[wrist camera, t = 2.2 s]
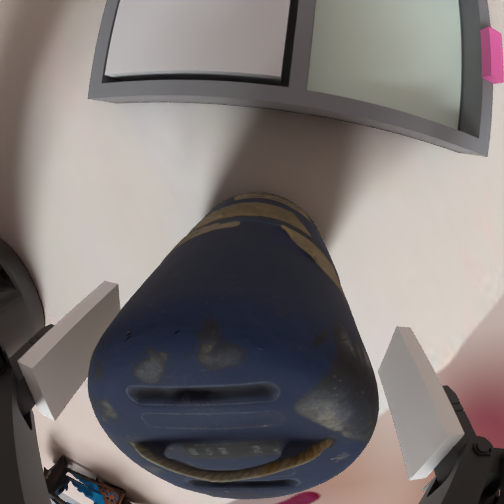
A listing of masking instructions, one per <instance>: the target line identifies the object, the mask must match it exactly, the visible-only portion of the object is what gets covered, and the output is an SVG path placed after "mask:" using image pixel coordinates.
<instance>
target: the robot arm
mask: <svg viewBox="0 0 504 504" xmlns="http://www.w3.org/2000/svg"><path fill="white" fill-rule="evenodd" d="M119 312H120V301H119V289H118V284H116V283H111V282H107V281H104V282H103V283H102V284H101V285H100V286H98V287H97V288H96V289H95V290H94V291H93V292H91V293H90V294H89V295H88V296H87V297H86V298H85V299H83V300H82V301H81V302H80V303H79V304H78V305H77V306H76V307H74V308H73V309H72V310H71V311H70V312H69V313H68V314H67V315H65V316H64V317H63V318H62V319H61V320H60V321H59V322H58V323H57V324H56V325H52V324H50V325H48V326H46V327H44V315H43V310H42V306H41V302H40V299H39V296H38V293H37V290H36V288H35V286H34V283H33V281H32V279H31V277H30V275H29V273H28V272H27V270H26V268H25V267H24V265H23V263H22V262H21V260H20V259H19V258H18V256H17V255H16V254H15V253H14V251H13V250H12V249H11V248H10V247H9V246H8V245H7V244H6V243H4V242H3V241H2V240H0V504H51V501H50V497H49V493H48V489H47V486H46V481H45V477H44V473H43V468H42V464H41V459H40V453H39V448H38V442H37V436H36V429H35V421H34V414H33V411H32V408H33V406H34V405H35V404H36V406H37V408H38V410H39V412H40V414H42V415H44V416H46V417H48V418H50V419H52V420H54V421H55V420H56V419H57V417H58V416H59V415H60V413H61V412H62V411H63V409H64V408H65V406H66V405H67V404H68V402H69V401H70V400H71V398H72V397H73V395H74V394H75V393H76V391H77V390H78V389H79V387H80V386H81V385H82V383H83V382H84V381H85V379H86V378H87V377H88V371H89V365H90V360H91V357H92V354H93V351H94V349H95V347H96V345H97V343H98V342H99V340H100V338H101V336H102V335H103V333H104V332H105V330H106V329H107V328H108V326H109V325H110V324H111V322H112V321H113V320H114V318H115V317H116V316H117V314H118V313H119ZM378 373H379V376H380V379H381V382H382V385H383V388H384V392H385V395H386V398H387V401H388V405H389V408H390V411H391V415H392V418H393V422H394V425H395V428H396V432H397V435H398V439H399V443H400V447H401V450H402V454H403V458H404V462H405V466H406V470H407V474H408V478H409V480H415V479H421V478H426V477H427V476H428V475H429V474H430V473H431V472H432V471H433V470H434V471H435V475H436V477H435V478H434V479H432V480H431V482H429V483H428V484H427V485H426V486H425V487H424V488H423V490H422V491H425V490H426V489H427V488H428V489H427V490H426V492H425V494H424V496H423V497H422V499H421V501H420V503H419V504H504V449H500V448H493V446H492V444H491V443H490V442H489V441H488V440H487V439H486V438H484V437H481V436H476V434H475V432H474V430H473V428H472V426H471V424H470V421H469V419H468V417H467V415H466V413H465V412H464V411H463V407H462V405H461V404H460V401H459V399H458V398H457V395H456V394H455V393H454V392H453V391H452V390H451V389H450V388H449V387H448V386H442V385H441V383H440V381H439V379H438V377H437V375H436V373H435V371H434V369H433V368H432V366H431V364H430V362H429V360H428V358H427V356H426V355H425V353H424V351H423V349H422V347H421V345H420V344H419V342H418V340H417V338H416V337H415V335H414V333H413V331H412V330H411V328H409V327H396V329H395V332H394V334H393V337H392V339H391V342H390V344H389V347H388V349H387V352H386V354H385V356H384V359H383V361H382V363H381V366H380V368H379V370H378ZM499 490H500V496H499Z"/></svg>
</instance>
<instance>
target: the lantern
mask: <svg viewBox="0 0 504 504" xmlns="http://www.w3.org/2000/svg"><path fill="white" fill-rule="evenodd" d="M67 472H69V473H71V474H72V475H73V476H74V477H75V478H76V479H79V481H80V482H82V483H80V482H78V481H76V480H74V479H73V478H71V477H69V476H67V475H66V473H67ZM44 477H45V481H46V486H47V489H48V493H49V497H50V498H51V499H52V500H53V501H54V502H55V503H56V504H70V503H68V502H65V501H63V500H62V499H60V497H59V496H58V495H60V494H61V493H62V492H63V491H64V489H66V491H67V490H68V483H69V481H72V484H73V485H74V486H75V487H77V488H78V489H77V490H78V491H79V492H83V493H84V495H85V496H86V497H88V498H89V499H91V500H93V502H94V504H131V503H130V502H129V501H128V500H127V499H125V498H123V497H124V495H125V493H126V492H125V491H124V490H121V489H118V488H115V487H112V486H109V485H107V484H104V483H102V482H99V479H98V478H99V476H98V475H97V477H96V479H92V478H89V477H86V476H84V475H82V474H80V473H78V472H75V471H73V470H71V469H68V468H67V466H66V463H65V461H64V458H63V456H62V457H61V458H60V459H59V460H58V461H57V463H56V464H55V465H54V466H53V467H51V468H50V469H49V470H47V469H46V468H45V467H44ZM83 483H84V484H85V485H84V484H83Z"/></svg>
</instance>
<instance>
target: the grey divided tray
mask: <svg viewBox="0 0 504 504" xmlns="http://www.w3.org/2000/svg"><path fill="white" fill-rule="evenodd" d="M502 82H504V71H503V49H502V36H501V33H499V32H498V31H496V30H494V29H493V28H491V26H490V17H489V9H488V2H487V0H107V2H106V6H105V9H104V13H103V17H102V21H101V25H100V30H99V34H98V39H97V44H96V49H95V54H94V60H93V65H92V72H91V78H90V85H89V92H88V99H92V100H99V101H105V102H111V103H137V102H181V103H207V104H223V105H236V106H247V107H257V108H266V109H274V110H282V111H289V112H296V113H302V114H308V115H314V116H320V117H326V118H331V119H336V120H341V121H346V122H351V123H356V124H360V125H365V126H369V127H373V128H377V129H381V130H385V131H389V132H393V133H397V134H401V135H404V136H408V137H411V138H415V139H418V140H421V141H425V142H428V143H431V144H434V145H437V146H440V147H444V148H447V149H449V150H452V151H455V152H458V153H464V154H471V155H478V156H485V157H487V156H488V149H489V140H490V130H491V118H492V101H493V84H497V83H502Z"/></svg>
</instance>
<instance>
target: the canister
mask: <svg viewBox="0 0 504 504" xmlns="http://www.w3.org/2000/svg"><path fill="white" fill-rule="evenodd" d="M88 393H89V398H90V401H91V404H92V408H93V410H94V413H95V415H96V417H97V419H98V421H99V423H100V425H101V426H102V428H103V429H104V431H105V432H106V434H107V435H108V437H109V438H110V439H111V440H112V441H113V442H114V444H115V445H116V446H117V447H118V448H119V449H120V450H121V451H122V452H123V453H124V454H125V455H126V456H128V457H129V458H130V459H131V460H132V461H134V462H135V463H136V464H138V465H139V466H141V467H142V468H144V469H145V470H147V471H148V472H150V473H152V474H154V475H155V476H157V477H159V478H161V479H163V480H165V481H167V482H169V483H171V484H173V485H175V486H178V487H181V488H184V489H187V490H191V491H195V492H198V493H203V494H207V495H210V496H213V497H222V498H232V499H261V498H272V497H279V496H285V495H289V494H294V493H297V492H301V491H304V490H307V489H309V488H311V487H314V486H316V485H319V484H321V483H324V482H326V481H327V480H329V479H331V478H333V477H334V476H336V475H338V474H339V473H341V472H342V471H344V470H345V469H346V468H347V467H348V466H349V465H351V464H352V463H353V462H354V461H355V459H356V458H357V457H358V456H359V455H360V454H361V452H362V451H363V450H364V448H365V447H366V445H367V444H368V442H369V441H370V439H371V437H372V434H373V432H374V429H375V426H376V422H377V418H378V412H379V397H378V388H377V383H376V379H375V375H374V371H373V368H372V365H371V362H370V360H369V357H368V354H367V352H366V349H365V347H364V345H363V342H362V340H361V337H360V335H359V332H358V329H357V327H356V324H355V321H354V318H353V316H352V313H351V310H350V307H349V305H348V302H347V299H346V297H345V295H344V292H343V290H342V287H341V285H340V280H339V277H338V274H337V271H336V269H335V266H334V264H333V262H332V259H331V257H330V255H329V252H328V250H327V248H326V246H325V244H324V242H323V240H322V238H321V236H320V234H319V232H318V230H317V228H316V226H315V224H314V223H313V221H312V220H311V219H310V217H309V216H308V215H307V214H306V213H305V212H304V211H303V210H302V209H301V208H299V207H298V206H296V205H295V204H293V203H292V202H290V201H288V200H287V199H284V198H282V197H279V196H276V195H273V194H268V193H246V194H241V195H237V196H234V197H232V198H230V199H228V200H226V201H224V202H222V203H220V204H219V205H217V206H216V207H215V208H214V209H212V210H211V211H210V212H209V213H208V214H207V215H206V216H205V217H204V218H203V219H202V220H201V221H200V222H199V223H198V224H197V225H196V226H195V227H194V228H193V229H192V230H191V231H190V232H189V234H188V235H187V236H186V237H184V238H183V239H182V240H181V241H180V242H179V243H178V244H177V245H176V246H175V247H174V248H173V250H172V251H171V252H170V253H169V254H168V255H167V256H166V258H165V259H164V260H163V261H162V263H161V264H160V265H159V266H158V267H157V269H156V270H155V271H154V272H153V273H152V274H151V275H150V276H149V278H148V279H147V280H146V281H145V282H144V283H143V284H142V286H141V287H140V288H139V289H138V290H137V291H136V293H135V294H134V295H133V296H132V297H131V298H130V300H129V301H128V302H127V303H126V304H125V305H124V307H123V308H122V309H121V311H120V312H119V313H118V314H117V316H116V317H115V318H114V320H113V321H112V322H111V324H110V325H109V326H108V328H107V329H106V330H105V332H104V333H103V335H102V336H101V338H100V340H99V342H98V343H97V345H96V347H95V349H94V351H93V354H92V357H91V360H90V365H89V371H88Z"/></svg>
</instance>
